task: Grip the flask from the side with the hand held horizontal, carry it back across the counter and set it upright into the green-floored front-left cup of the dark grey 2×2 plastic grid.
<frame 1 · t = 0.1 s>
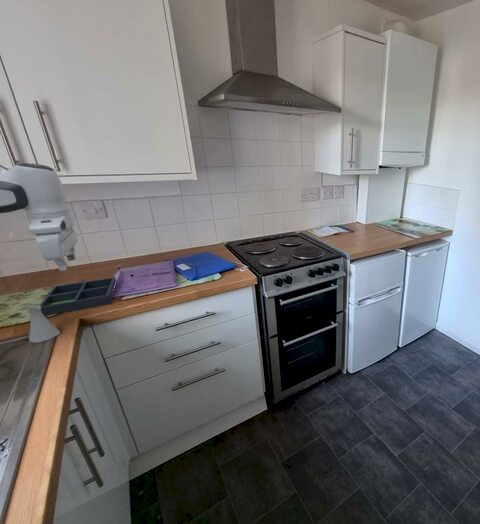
hand: (68, 264, 93), 21 cm above the worktop, tool pointing down, fingers open, 8 cm apart
grid: (83, 299, 116), on the worktop
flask: (45, 336, 93), on the worktop
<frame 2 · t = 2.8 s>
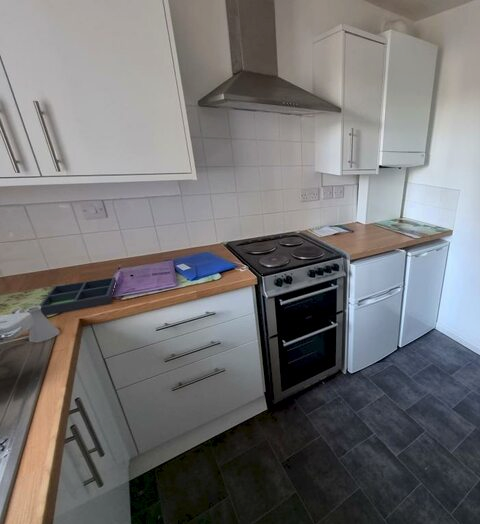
nothing on the worktop moved.
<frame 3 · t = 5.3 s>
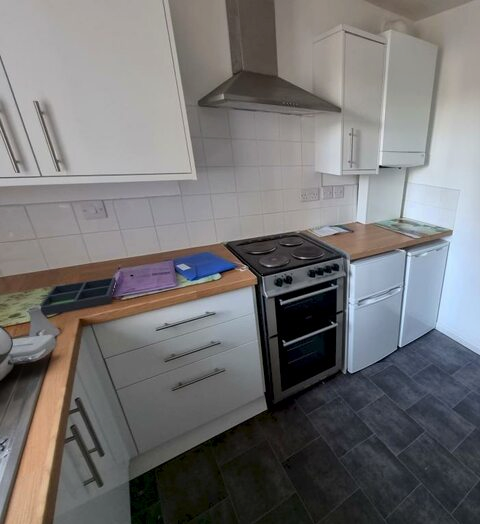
hand: (22, 334, 85), 5 cm above the worktop, tool horizontal, fingers open, 8 cm apart
nothing on the worktop moved.
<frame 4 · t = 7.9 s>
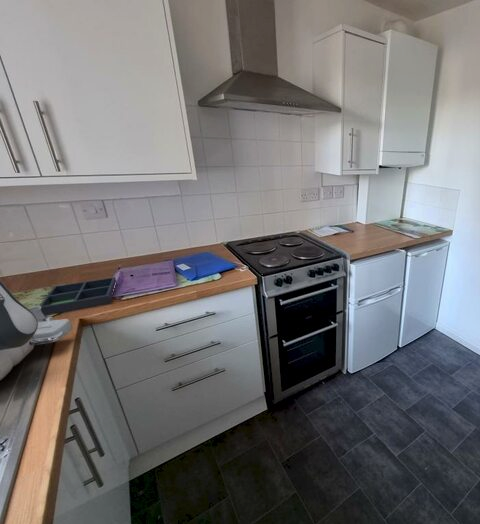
hand: (40, 319, 92), 6 cm above the worktop, tool horizontal, fingers closed on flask, 3 cm apart
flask: (45, 336, 93), on the worktop, touching gripper
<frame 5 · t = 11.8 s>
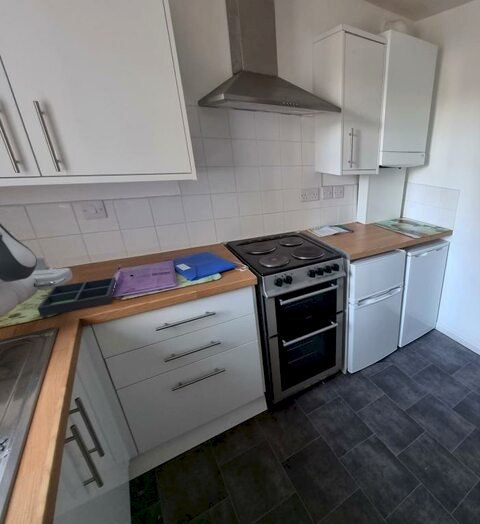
hand: (43, 269, 100), 17 cm above the worktop, tool horizontal, fingers closed on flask, 3 cm apart
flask: (48, 286, 101), point 11 cm above the worktop, touching gripper
when the fingers open (6 cm above the worktop, at t = 15.8 s): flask stays where it is, resting on grid.
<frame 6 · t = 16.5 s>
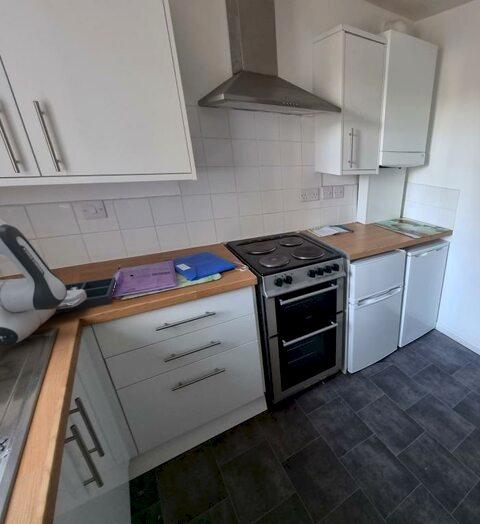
hand: (59, 290, 108), 6 cm above the worktop, tool horizontal, fingers open, 8 cm apart
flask: (64, 305, 110), point 1 cm above the worktop, touching grid
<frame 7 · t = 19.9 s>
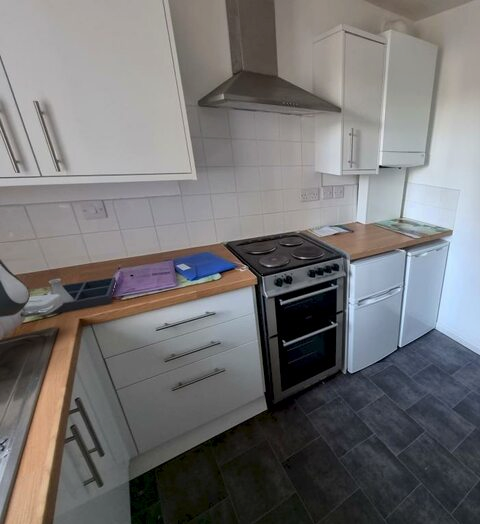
hand: (32, 295, 95), 11 cm above the worktop, tool horizontal, fingers open, 8 cm apart
nothing on the worktop moved.
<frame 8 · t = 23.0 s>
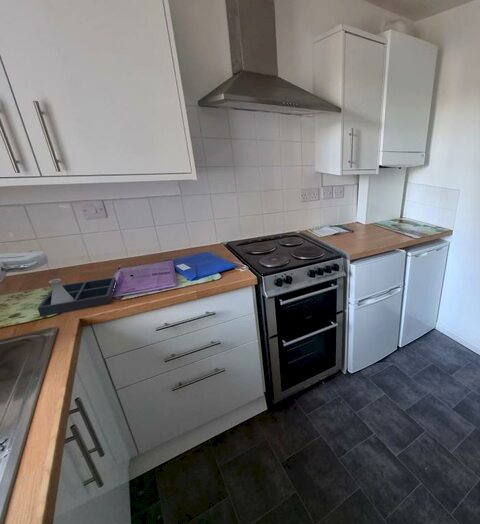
hand: (15, 254, 90), 25 cm above the worktop, tool horizontal, fingers open, 8 cm apart
nothing on the worktop moved.
at the end: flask 0.2 cm from the target spot in the grid, point 0.9 cm above the grid's base; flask tilted 0°; the gripper is holding nothing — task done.
